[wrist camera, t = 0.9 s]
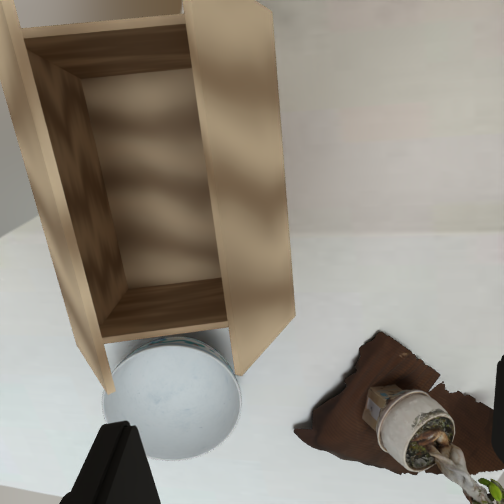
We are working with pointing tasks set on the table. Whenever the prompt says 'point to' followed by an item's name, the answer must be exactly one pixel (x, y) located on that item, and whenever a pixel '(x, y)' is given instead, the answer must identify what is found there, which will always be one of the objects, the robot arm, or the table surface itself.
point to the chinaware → (175, 398)
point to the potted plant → (407, 422)
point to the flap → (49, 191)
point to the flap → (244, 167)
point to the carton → (132, 171)
